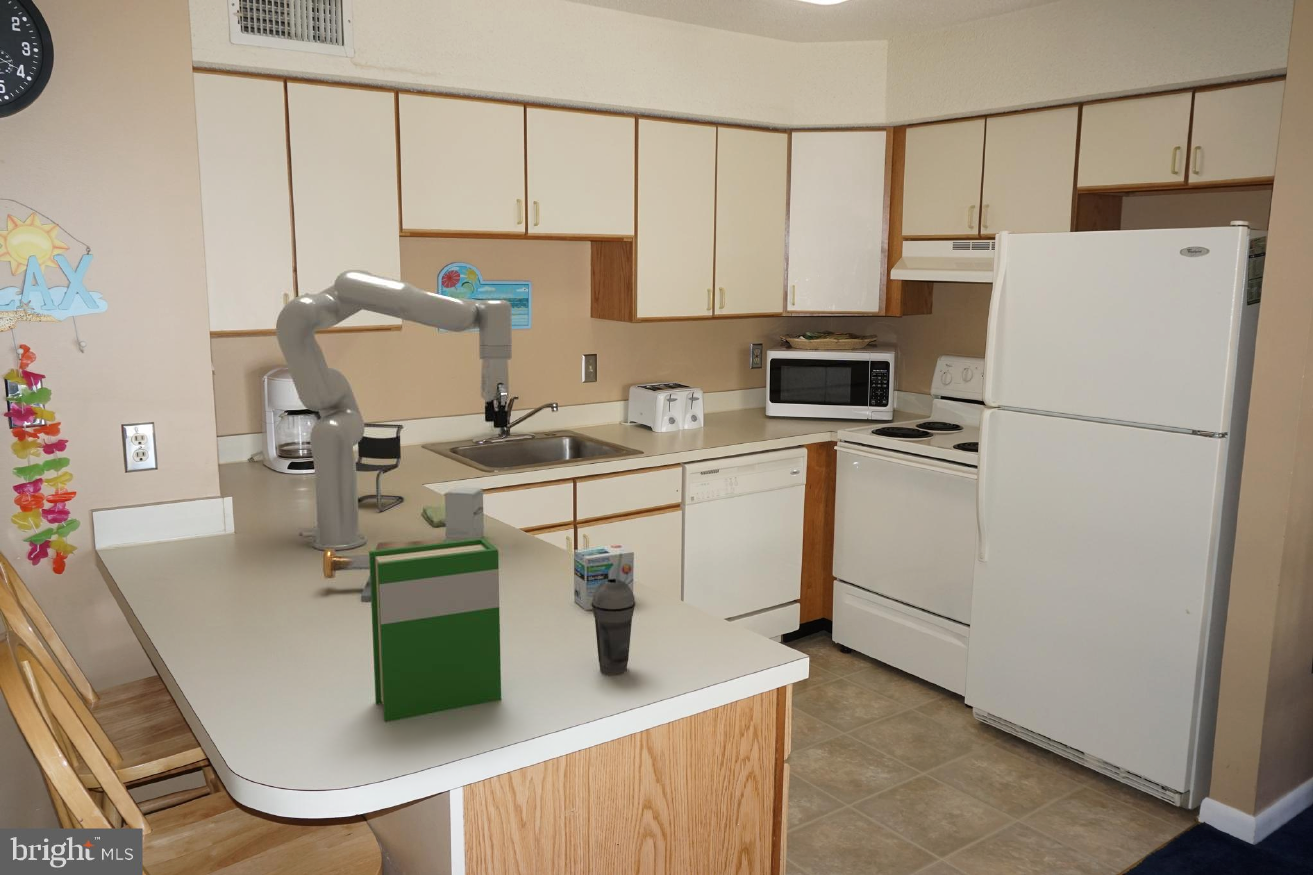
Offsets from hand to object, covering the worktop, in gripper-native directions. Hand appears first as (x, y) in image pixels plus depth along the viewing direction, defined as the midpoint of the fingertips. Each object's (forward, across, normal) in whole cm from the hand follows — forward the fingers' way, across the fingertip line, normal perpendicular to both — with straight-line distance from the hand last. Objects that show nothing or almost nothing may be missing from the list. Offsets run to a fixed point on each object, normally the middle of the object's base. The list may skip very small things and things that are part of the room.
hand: (496, 424), depth 232 cm
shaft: (+27, +25, -31) cm, 48 cm away
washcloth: (+30, -29, -6) cm, 43 cm away
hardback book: (+30, +84, -28) cm, 93 cm away
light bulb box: (+29, +49, +11) cm, 58 cm away
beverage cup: (+29, +82, +2) cm, 87 cm away
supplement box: (+30, -7, -6) cm, 31 cm away
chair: (+30, -52, -24) cm, 64 cm away
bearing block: (+30, +27, -22) cm, 46 cm away
